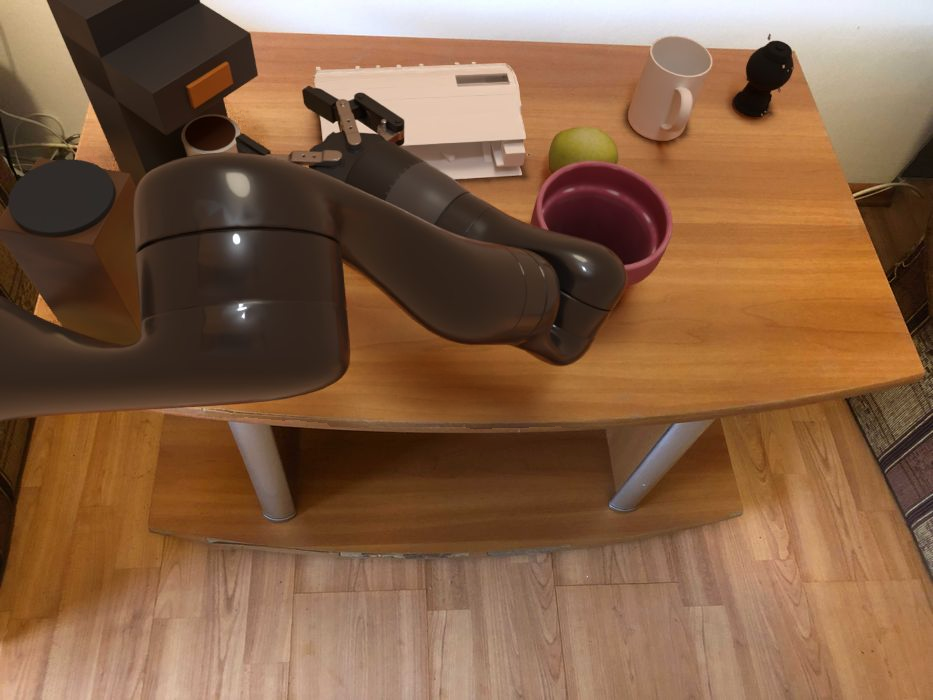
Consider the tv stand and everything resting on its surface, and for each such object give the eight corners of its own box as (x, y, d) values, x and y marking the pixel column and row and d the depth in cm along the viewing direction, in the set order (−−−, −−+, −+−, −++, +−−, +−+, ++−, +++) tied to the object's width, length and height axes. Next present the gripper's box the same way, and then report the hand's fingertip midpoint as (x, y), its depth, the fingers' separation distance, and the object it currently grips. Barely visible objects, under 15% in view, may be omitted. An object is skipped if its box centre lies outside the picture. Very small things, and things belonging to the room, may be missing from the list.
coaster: (-8, 227, 59) (-11, 222, 58) (38, 157, 63) (35, 151, 62) (92, 244, 59) (89, 240, 58) (130, 173, 63) (128, 168, 62)
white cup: (192, 207, 84) (172, 147, 77) (209, 170, 88) (192, 109, 80) (244, 216, 84) (229, 157, 77) (259, 178, 87) (246, 118, 80)
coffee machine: (295, 191, 88) (266, 9, 68) (219, 250, 83) (163, 71, 62) (202, 127, 92) (148, -63, 72) (123, 180, 87) (41, -10, 66)
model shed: (324, 187, 89) (319, 144, 83) (316, 104, 96) (311, 59, 90) (524, 175, 93) (534, 133, 87) (502, 96, 100) (509, 52, 94)
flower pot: (642, 344, 81) (681, 274, 70) (516, 333, 81) (535, 260, 70) (633, 243, 89) (667, 166, 78) (517, 232, 88) (535, 152, 77)
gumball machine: (779, 121, 103) (815, 60, 94) (743, 129, 101) (776, 67, 93) (754, 90, 106) (786, 28, 97) (719, 97, 104) (748, 34, 96)
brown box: (79, 351, 75) (-8, 227, 59) (110, 288, 79) (38, 157, 63) (156, 364, 75) (92, 244, 59) (184, 301, 79) (130, 173, 63)
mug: (624, 99, 102) (646, 32, 93) (679, 104, 103) (707, 37, 94) (633, 163, 96) (658, 98, 87) (692, 167, 96) (723, 103, 87)
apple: (605, 217, 91) (623, 169, 84) (535, 194, 91) (547, 145, 85) (619, 174, 95) (637, 126, 88) (552, 153, 95) (564, 103, 89)
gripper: (460, 126, 64) (321, 46, 69) (352, 221, 58) (205, 127, 62) (455, 187, 71) (328, 111, 75) (357, 279, 64) (224, 190, 68)
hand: (273, 118), depth 68 cm, fingers open, 8 cm apart
